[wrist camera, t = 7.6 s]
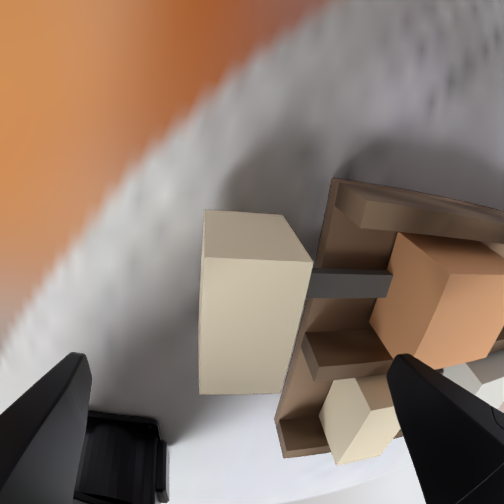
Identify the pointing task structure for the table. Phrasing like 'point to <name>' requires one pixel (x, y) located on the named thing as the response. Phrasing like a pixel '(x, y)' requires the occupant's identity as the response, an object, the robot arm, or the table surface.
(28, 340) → the table surface
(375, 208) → the lane rack
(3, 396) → the table surface
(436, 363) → the cream orange dumbbell block
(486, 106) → the table surface
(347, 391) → the cream white block dumbbell
